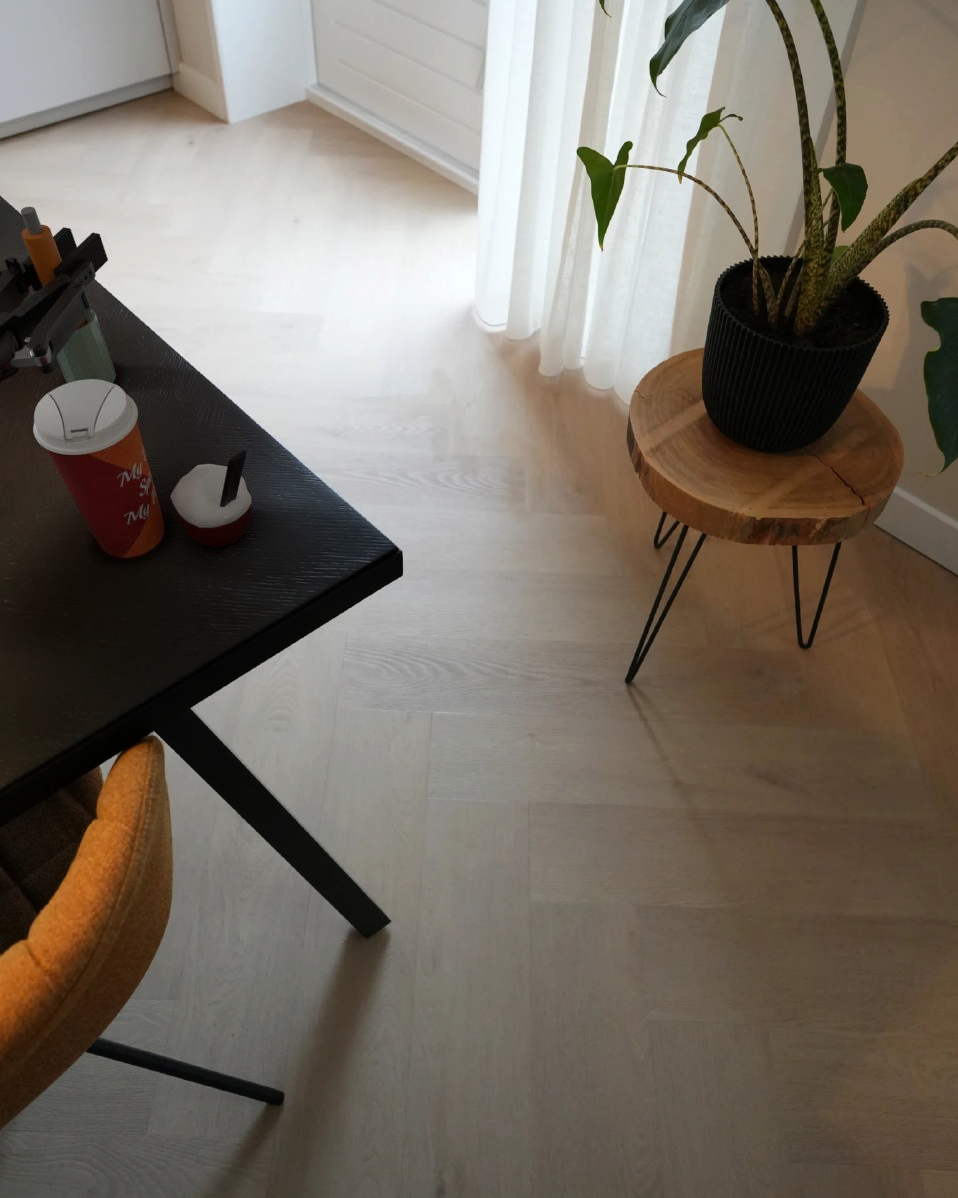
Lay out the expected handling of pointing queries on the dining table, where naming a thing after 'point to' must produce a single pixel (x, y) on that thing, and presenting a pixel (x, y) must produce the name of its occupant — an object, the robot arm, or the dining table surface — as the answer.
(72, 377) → the pencil cup
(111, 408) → the paper cup
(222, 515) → the cocoa
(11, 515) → the dining table surface
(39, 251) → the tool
